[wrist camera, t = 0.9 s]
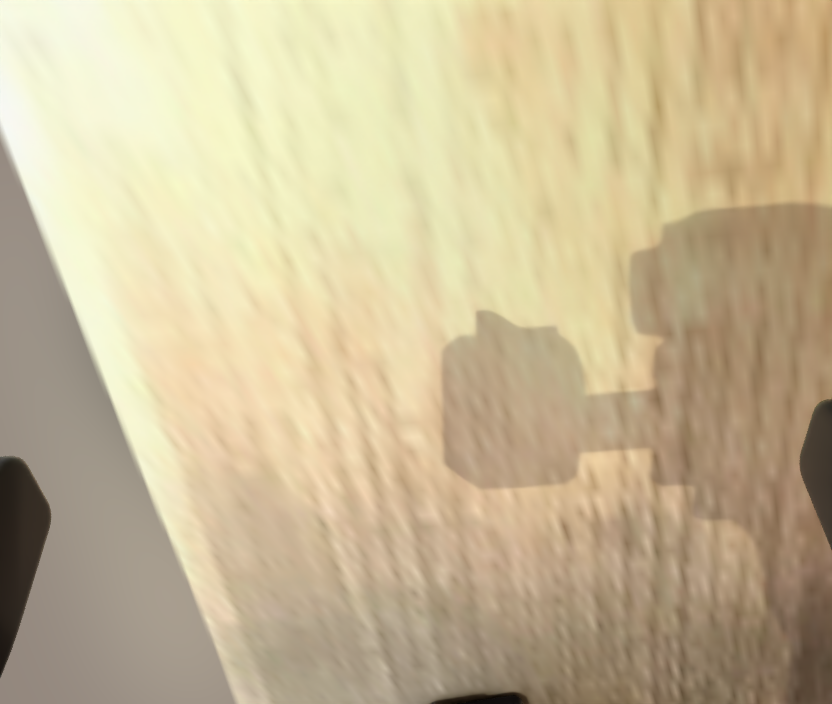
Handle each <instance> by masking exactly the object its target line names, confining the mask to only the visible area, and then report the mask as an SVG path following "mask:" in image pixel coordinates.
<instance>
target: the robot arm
mask: <svg viewBox="0 0 832 704" xmlns="http://www.w3.org/2000/svg"><path fill="white" fill-rule="evenodd" d="M800 471H801V475H802V478H803V481H804V483H805V486H806V488H807V491H808V493H809V496H810V498H811V500H812V503H813V505H814V508H815V510H816V513H817V515H818V518H819V520H820V522H821V525H822V527H823V530H824V532H825V535H826V537H827V539H828V542H829V544H830V547H831V549H832V399H828V400H824V401H822V402H820V403H819V404H818V405H817V406H816V407H815V409H814V412H813V414H812V418H811V421H810V424H809V427H808V431H807V434H806V437H805V440H804V444H803V447H802V450H801V454H800ZM50 522H51V510H50V506H49V503H48V501H47V499H46V498H45V496H44V494H43V492H42V490H41V489H40V487H39V485H38V483H37V481H36V480H35V478H34V476H33V474H32V472H31V471H30V469H29V467H28V465H27V464H26V463H25V461H23V460H22V459H21V458H19V457H15V456H5V457H0V677H1V675H2V673H3V670H4V667H5V665H6V662H7V660H8V657H9V655H10V652H11V650H12V647H13V644H14V641H15V638H16V635H17V632H18V629H19V626H20V623H21V620H22V616H23V613H24V610H25V606H26V603H27V600H28V597H29V593H30V590H31V587H32V584H33V580H34V577H35V574H36V571H37V567H38V564H39V561H40V557H41V554H42V551H43V548H44V544H45V541H46V538H47V535H48V531H49V528H50ZM459 704H523V702H522V700H521V698H519V697H517V696H505V697H499V698H492V699H486V700H479V701H472V702H466V703H459Z"/></svg>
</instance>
